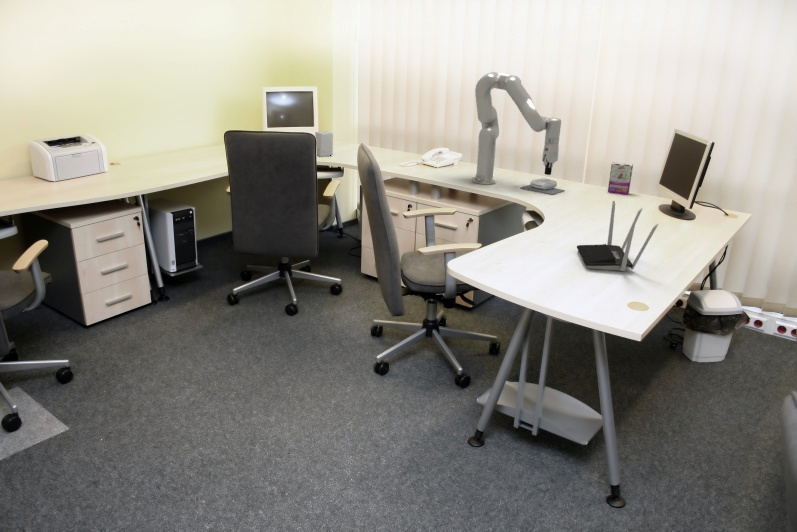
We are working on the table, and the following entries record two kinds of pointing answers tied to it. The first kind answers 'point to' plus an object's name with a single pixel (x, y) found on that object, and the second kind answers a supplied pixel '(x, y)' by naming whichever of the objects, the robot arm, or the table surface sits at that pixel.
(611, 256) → the wireless router
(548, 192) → the mat
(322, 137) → the supplement box
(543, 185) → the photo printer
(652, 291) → the table surface
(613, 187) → the candy bar box
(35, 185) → the table surface
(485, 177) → the robot arm
